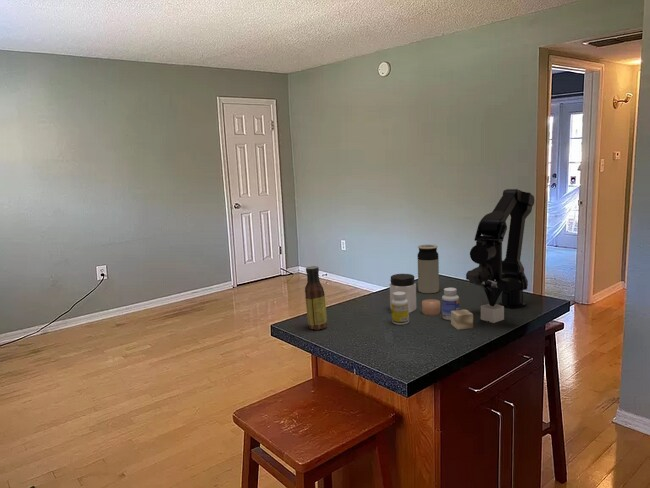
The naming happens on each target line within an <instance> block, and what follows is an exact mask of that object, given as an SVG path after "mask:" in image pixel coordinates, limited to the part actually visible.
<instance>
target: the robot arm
mask: <svg viewBox="0 0 650 488" xmlns="http://www.w3.org/2000/svg"><path fill="white" fill-rule="evenodd" d="M502 191H503V192H502V196H501V197H500V199H499V201H498V202H497V203H496V205H495V207H494V209H492V211H491V212H489V213H486V214H484V216H483V217H482V218H481V220H480V221H479V223H478V225H477V228H476V232H475V235H474V241H475V242H476V244H475V245H474V246H473V247H471V249H470V252H469V257H470V259H471V261H472V262H474V263H475V264H477V265H478V266H477V267H475V268H472V269H471V270H468V271H467V272H466V273H465V278H466V279H465V280H467V281H468V283H469V284H474V285H476V286H479V287H481V288H482V289H483V290H484V292H485V295H486V297H487V301H488V304H490V306H494V305H495V304H497V301H498V300H499V297H500V296H501V301H499V302H498V305H501V306H504V307H506V308H510V309H514V308H515V309H516V308H522V307H525V306H527V303H525V302H524V296H523V295H524V290H525V291H526V290H528V285H529V284H528V283H529V280H528V278H527V276H526V274H525V267H524V265H523V264H522V261H521V255H522V249H523V240H524V231H525V223H526V219H527V218H528V216H530V214H531V213H532V211H533V210H532V209H533V207H534V205H535V196H534V195H533V194H532V193H531V192H529V191H528V192H527V191H522V190H520V189H518V188H506V189H504V190H502ZM509 216H510V219H509V220H510V222H509V230H508V226H507V225H508V224H507V220H508V218H509ZM507 231H508V235H507V236H508V237H507V245H506V252H505V258H504V259H503V242H504V238H505V235H506V233H507Z"/></svg>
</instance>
